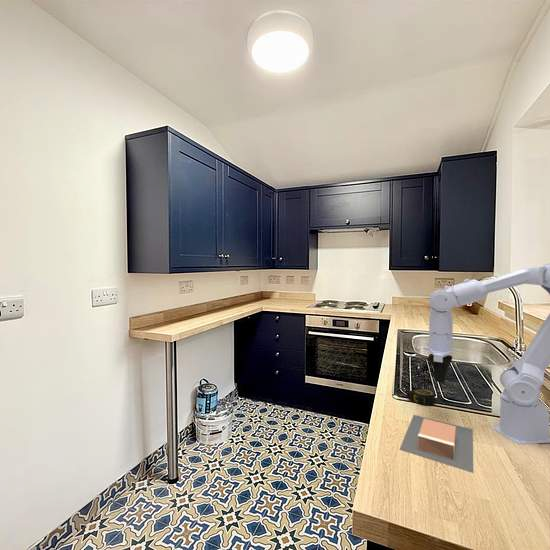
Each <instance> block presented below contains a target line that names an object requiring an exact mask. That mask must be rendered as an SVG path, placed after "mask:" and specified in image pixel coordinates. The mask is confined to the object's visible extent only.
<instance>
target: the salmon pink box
mask: <svg viewBox="0 0 550 550" xmlns="http://www.w3.org/2000/svg"><path fill="white" fill-rule="evenodd" d="M455 440H456V426H452V425H448V424H444V423H440V422H436V421H432V420H428V419H424V420H423V423H422V426H421V429H420V432H419V434H418V449H419V450H422V451H425V452H428V453H432V454H435V455H438V456H442V457H445V458H448V459H451V460H454V452H455Z"/></svg>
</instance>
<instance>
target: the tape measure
mask: <svg viewBox="0 0 550 550" xmlns="http://www.w3.org/2000/svg"><path fill="white" fill-rule="evenodd" d="M406 398H407V399H408V400H409V401H411V402H415V403H416V404H418V405H422V406H432V405H434V404H435V403H436V394H435V392H434V391H432V390H430V389H426V388H421V387H420V388H416V389H413V390H409V391H408V392H407V393H406Z"/></svg>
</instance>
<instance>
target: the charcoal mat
mask: <svg viewBox="0 0 550 550" xmlns="http://www.w3.org/2000/svg"><path fill="white" fill-rule="evenodd" d="M424 419H428V420H432V421H436V422H440V423H444V424H448V425H452V426H456V440H455V452H454V460H451V459H448V458H445V457H442V456H438V455H435V454H432V453H428V452H425V451H422V450H419V449H418V434H419V432H420V429H421V426H422V423H423V420H424ZM473 430H474V429H472V428H469V427H465V426H461V425H457V424H453V423H448V422H444V421H440V420H436V419H433V418H428V417H424V416H420V415H416V414H413V415H412V417H411V420H410V422H409V425H408V427H407V430H406V433H405V435H404V438H403V440H402V442H401V444H400V448H399V451H403V452H406V453H408V454H411V455H416V456H418V457H422V458H425V459H428V460H430V461H434V462H438V463H441V464H443V465H446V466H450V467H453V468H456V469H460V470H463V471H466V472H469V473H472V474H473V473H474V431H473Z"/></svg>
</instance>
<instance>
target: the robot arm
mask: <svg viewBox="0 0 550 550" xmlns="http://www.w3.org/2000/svg"><path fill="white" fill-rule="evenodd" d="M521 285H533V286H540V287H541V288H542V289H543V290H545V291H546V292H547V293H548V294H549V296H550V263H545V264H543V265H537V266H531V267H525V268H521V269H518V270H515V271H512V272H509V273H505V274H502V275H500V276H497V277H494V278H490V279H487V280H483V281H480V280H477V279H474V278H473V279H469V278H466V279H464V280H463V282H461V283H458V284H455V285H451V286H449V285H445V286H444V289H437V290H434V291H433V292H431V294H430V295H429V299H428V302H429V306H430V309H429V314H430V315H429V316H428V318H429V319H428V321H429V322H428V346H427V345H425V346H424V347H423V348H424V349H423V350H425V351H428V352H429V353H430V354H428V356H427V357H428V361H429V362H430V364H431V366H432V370H433V375H434V380H435V382H436V383H442V384H445V381H446V378H447V373H448V368H449V367H450V364H451V363H452V361H453V356H452V355H453V354H454V349H453V333H454V332H453V322H454V321H453V320H454V319H453V316H452V312H453V310H452V309H453V307H457V308H458V307H462V306H465V305H469V304H473V303H476V302H480V301H483V300H484V299H485V298H486V295H487V294H490V293H493V292H497V291H501V290H506V289H510V288H513V287H518V286H521ZM549 366H550V313H549V314H548V315H547V317H546V318H545V320H544V321H543V322H542V325H540V328H539V329H538V330H537V332H536V334H535V335H534V337H533V338H532V340H531V341H530V343H529V344H528V346H527V347H526V349H525V350H524V352H523V353H522V355H521V357H520V358H519V359H517V360H515V361H514V362H513V363H512V365H511V366H510V367H508V368H507V369H504V370H503V371H502V372H501V373H500V375H499V381H500V384H501V386H502V387H503V388H504V389H503V391H502V392H501V393H500V394H499V395H500V399H499V400H500V402H499V404H500V405H499V424H498V425H491V426H490V427H491V429H493V430H495V431H496V432H498V433H500V435H503V436H505V437H506V438H507V439H509V440H511V441H513V442H514V443H515V444H518V445H526V444H527V445H528V444H550V412H549V410H548V408H547V406H546V404H545V403H543V402H542V401H540V397H541V387H542V386H543V385H544V380H545V372H546V370H548V367H549Z"/></svg>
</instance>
